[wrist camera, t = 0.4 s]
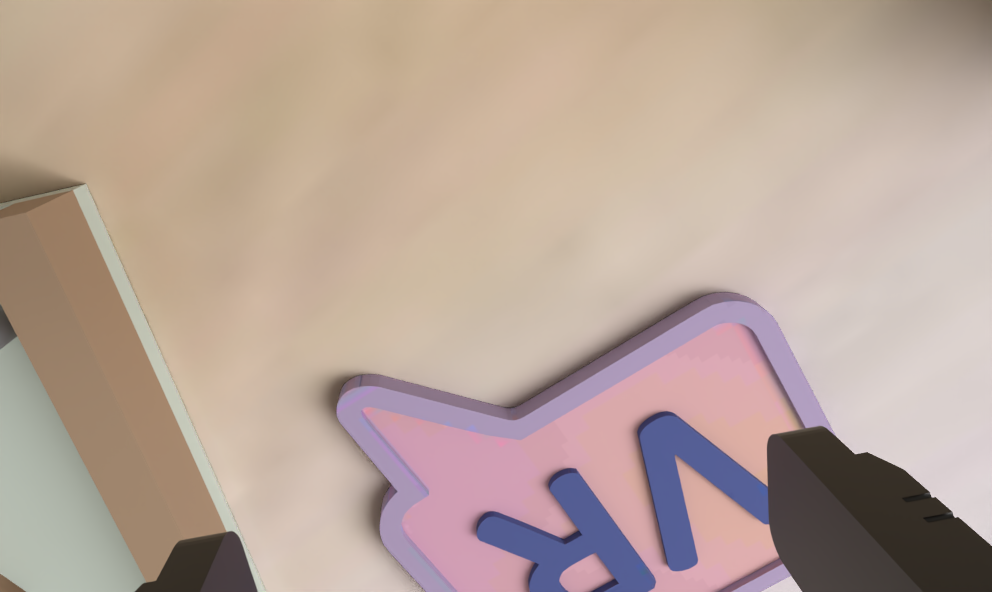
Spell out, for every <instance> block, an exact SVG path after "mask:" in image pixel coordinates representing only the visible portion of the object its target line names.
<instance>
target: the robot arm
mask: <svg viewBox="0 0 992 592" xmlns="http://www.w3.org/2000/svg"><path fill="white" fill-rule="evenodd" d="M767 477H768V514H769V526H770V532H771V536H772V539H773V543H774V546H775V548H776V551H777V553H778V555H779V557H780V559H781V561H782V563H783V564H784V566H785V567H786V569H787V570H788V572H789V573H790V574H791V576H792V577H793V579H794V580H795V582H796V583H797V585H798V586H799V587H800V589H801V590H802V592H992V546H991V545H990V544H989V543H987V542H986V541H985V540H984V539H983V538H982V537H981V536H979V535H978V534H977V533H976V532H975V531H974V530H973V529H971V528H970V527H969V526H968V525H967V524H966V523H964V522H963V521H962V520H961V519H960V518H959V517H957V518H955V517H954V516H953V512H952V511H951V510H950V509H948V508H947V507H946V506H945V505H944V504H943V503H941V502H940V501H939V500H938V499H937V498H936V497H934V498H932V497H931V495H930V492H929V491H928V490H927V489H925V488H924V487H923V486H922V485H921V484H920V483H919V482H917V481H916V480H915V479H914V478H913V477H912V476H910V475H909V474H908V473H907V472H906V471H905V470H904V469H902V468H899V467H897V466H895V465H893V464H891V463H889V462H887V461H885V460H882V459H880V458H878V457H876V456H874V455H872V454H870V453H868V452H866V453H861V454H854V453H853V452H852V451H851V450H850V449H849V448H848V447H846V446H845V445H844V444H843V443H842V442H841V441H840V440H839V439H838V438H837V437H836V436H835V435H834V434H833V433H831V432H830V431H829V430H828V429H827V428H825V427H823V426H816V427H810V428H805V429H799V430H794V431H788V432H783V433H777V434H772V435H771V436H770V437H769V438H768V442H767ZM135 592H258V591H257V587H256V584H255V581H254V578H253V575H252V572H251V569H250V566H249V563H248V560H247V557H246V554H245V551H244V548H243V545H242V542H241V540H240V538H239V536H238V535H237V534H236V533H235V532H233V531H228V532H223V533H217V534H212V535H206V536H201V537H195V538H190V539H184V540H180V541H178V542H177V543H176V545H175V546H174V548H173V550H172V552H171V553H170V555H169V557H168V559H167V561H166V563H165V565H164V567H163V568H162V570H161V572H160V574H159V576H158V578H157V580H156V581H152V582H147V583H143V584H142V585H141V586H140V587H139V588H138V589H137V590H136V591H135Z"/></svg>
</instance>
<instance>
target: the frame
mask: <svg viewBox="0 0 992 592" xmlns="http://www.w3.org/2000/svg"><path fill="white" fill-rule="evenodd" d="M0 592H26V591H24V590H23V589H22V588H20V587H19V586H17V585H16V584H14V583H13V582H12V581H10V580H9V579H7V578H6V577H4V576H3V575H1V574H0Z"/></svg>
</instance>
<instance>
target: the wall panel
mask: <svg viewBox="0 0 992 592" xmlns="http://www.w3.org/2000/svg"><path fill="white" fill-rule="evenodd" d="M228 531H233V532H235V533H236V534H237V535H238V536H239V538H240V540H241V542H242V545H243V548H244V551H245V554H246V557H247V560H248V563H249V566H250V569H251V572H252V575H253V578H254V581H255V584H256V587H257V591H258V592H266V590H265V588H264V586H263V583H262V581H261V579H260V577H259V574H258V572H257V570H256V567H255V565H254V563H253V561H252V558H251V556H250V554H249V552H248V549H247V547H246V545H245V543H244V540H243V538H242V536H241V533H240V531H239V529H238V527H237V524H236V522H235V520H234V518H233V515H232V513H231V511H230V509H229V506H228V504H227V502H226V500H225V497H224V495H223V493H222V490H221V488H220V486H219V484H218V481H217V479H216V477H215V475H214V472H213V470H212V468H211V466H210V463H209V461H208V459H207V456H206V454H205V452H204V450H203V447H202V445H201V443H200V441H199V438H198V436H197V434H196V432H195V429H194V427H193V425H192V422H191V420H190V418H189V416H188V413H187V411H186V409H185V407H184V404H183V402H182V400H181V398H180V395H179V393H178V391H177V389H176V386H175V384H174V382H173V379H172V377H171V375H170V373H169V370H168V368H167V366H166V364H165V361H164V359H163V357H162V355H161V352H160V350H159V348H158V345H157V343H156V341H155V339H154V336H153V334H152V332H151V330H150V327H149V325H148V323H147V321H146V318H145V316H144V314H143V312H142V309H141V307H140V305H139V302H138V300H137V298H136V296H135V293H134V291H133V289H132V287H131V284H130V282H129V280H128V278H127V275H126V273H125V271H124V268H123V266H122V264H121V262H120V259H119V257H118V255H117V253H116V250H115V248H114V246H113V244H112V241H111V239H110V237H109V234H108V232H107V230H106V228H105V225H104V223H103V221H102V219H101V216H100V214H99V212H98V210H97V207H96V205H95V203H94V201H93V198H92V196H91V194H90V191H89V189H88V187H87V185H86V184H83V185H79V186H74V187H70V188H65V189H61V190H57V191H52V192H48V193H44V194H39V195H35V196H30V197H26V198H22V199H17V200H13V201H9V202H4V203H0V574H1V575H3V576H4V577H6V578H7V579H9V580H10V581H12V582H13V583H14V584H16V585H17V586H19V587H20V588H22V589H23V590H24V591H26V592H135V591H136V590H137V589H138V588H139V587H140V586H141V585H142V584H143V583H147V582H152V581H156V580H157V578H158V576H159V574H160V572H161V570H162V568H163V567H164V565H165V563H166V561H167V559H168V557H169V555H170V553H171V552H172V550H173V548H174V546H175V545H176V543H177V542H178V541H180V540H184V539H190V538H195V537H201V536H206V535H212V534H217V533H223V532H228Z"/></svg>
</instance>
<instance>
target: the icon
mask: <svg viewBox="0 0 992 592" xmlns="http://www.w3.org/2000/svg"><path fill="white" fill-rule="evenodd" d="M337 418H338V420H339V422H340V423H341V425H342V426H343V427H344V428H345V429H346V431H347V432H348V433H349V434H350V435H351V437H352V438H353V439H354V440H355V441H356V443H357V444H358V445H359V446H360V447H361V448H362V450H363V451H364V452H365V453H366V454H367V456H368V457H369V458H370V459H371V460H372V462H373V463H374V464H375V465H376V466H377V468H378V469H379V470H380V471H381V472H382V473H383V475H384V476H385V477H386V478H387V479H388V481H389V482H390V483H391V484H392V485H391V486H390V487H389V489H388V490H387V492H386V494H385V496H384V498H383V502H382V506H381V517H380V528H379V529H380V535H381V539H382V542H383V544H384V546H385V547H386V548H387V550H388V551H389V552H390V553H391V554H392V555H393V556H394V558H395V559H396V560H397V561H398V562H399V563H400V564H401V565H402V566H403V567H404V568H405V569H406V571H407V572H408V573H409V574H410V575H411V576H412V577H413V578H414V579H415V580H416V581H417V583H418V584H419V585H420V586H421V587H422V588H423V589H424V590H425V591H426V592H761V591H763V590H765V589H767V588H769V587H771V586H772V585H774V584H776V583H778V582H780V581H782V580H784V579H785V578H787V577H789V576H791V574H790V573H789V572H788V570H787V569H786V567H785V566H784V564H783V563H782V561H781V559H780V557H779V555H778V553H777V551H776V548H775V546H774V543H773V539H772V536H771V532H770V526H769V514H768V477H767V442H768V438H769V437H770V436H771V435H772V434H777V433H783V432H788V431H794V430H799V429H805V428H810V427H816V426H823V427H825V428H827V429H828V430H829V431H830V432H831V433H833V434H834V432H833V430H832V428H831V426H830V424H829V422H828V420H827V418H826V416H825V414H824V413H823V411H822V409H821V407H820V405H819V403H818V401H817V399H816V397H815V395H814V393H813V391H812V389H811V387H810V385H809V383H808V381H807V380H806V378H805V376H804V374H803V372H802V370H801V368H800V366H799V364H798V362H797V360H796V358H795V356H794V354H793V352H792V350H791V348H790V347H789V345H788V343H787V341H786V339H785V337H784V335H783V333H782V331H781V329H780V327H779V325H778V323H777V322H776V320H775V319H774V317H773V316H772V315H771V314H770V313H768V312H767V311H766V310H765V309H764V308H762V307H761V306H760V305H759V304H758V303H757V302H755V301H754V300H752V299H750V298H748V297H746V296H743V295H740V294H736V293H729V292H722V293H713V294H709V295H705V296H702V297H700V298H699V299H697V300H695V301H693V302H691V303H690V304H688V305H686V306H685V307H683V308H681V309H680V310H678V311H676V312H675V313H673V314H671V315H670V316H668V317H666V318H665V319H663V320H661V321H660V322H658V323H656V324H655V325H653V326H651V327H650V328H648V329H646V330H645V331H643V332H641V333H640V334H638V335H636V336H635V337H633V338H631V339H630V340H628V341H626V342H625V343H623V344H621V345H620V346H618V347H616V348H615V349H613V350H611V351H610V352H608V353H606V354H605V355H603V356H601V357H600V358H598V359H596V360H595V361H593V362H591V363H590V364H588V365H586V366H585V367H583V368H581V369H580V370H578V371H576V372H575V373H573V374H571V375H570V376H568V377H566V378H565V379H563V380H561V381H560V382H558V383H556V384H555V385H553V386H551V387H550V388H548V389H546V390H545V391H543V392H541V393H540V394H538V395H536V396H535V397H533V398H531V399H530V400H528V401H526V402H525V403H523V404H521V405H519V406H517V407H514V408H504V407H500V406H497V405H493V404H489V403H485V402H481V401H477V400H474V399H470V398H466V397H462V396H458V395H455V394H451V393H447V392H443V391H439V390H436V389H432V388H428V387H424V386H420V385H417V384H413V383H409V382H405V381H401V380H397V379H394V378H390V377H386V376H382V375H375V374H368V375H360V376H356V377H354V378H352V379H350V380H349V381H347V382H346V383H345V384H344V385H343V387H342V389H341V392H340V395H339V399H338V403H337ZM834 435H835V434H834Z"/></svg>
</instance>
